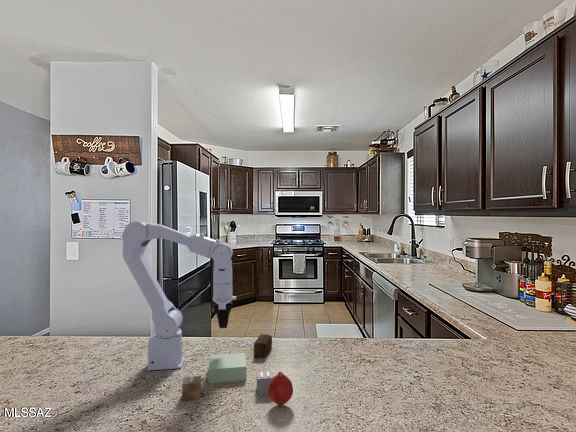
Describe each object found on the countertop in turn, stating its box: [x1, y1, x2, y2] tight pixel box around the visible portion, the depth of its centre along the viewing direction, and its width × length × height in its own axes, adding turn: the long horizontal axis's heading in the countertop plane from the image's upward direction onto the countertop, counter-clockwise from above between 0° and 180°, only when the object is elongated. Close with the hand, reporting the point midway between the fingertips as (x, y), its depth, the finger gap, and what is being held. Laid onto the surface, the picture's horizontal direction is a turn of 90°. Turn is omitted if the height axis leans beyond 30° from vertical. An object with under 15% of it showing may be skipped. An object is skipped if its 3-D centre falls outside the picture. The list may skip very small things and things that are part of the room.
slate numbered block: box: [256, 370, 274, 396], centre depth 91 cm, size 4×4×4 cm
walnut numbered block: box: [181, 375, 202, 402], centre depth 88 cm, size 4×4×4 cm
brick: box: [253, 333, 273, 359], centre depth 117 cm, size 11×4×5 cm, turn 171°
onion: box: [268, 370, 294, 407], centre depth 83 cm, size 6×6×8 cm
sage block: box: [207, 352, 247, 384], centre depth 101 cm, size 10×10×4 cm
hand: (223, 327), depth 109 cm, fingers closed
